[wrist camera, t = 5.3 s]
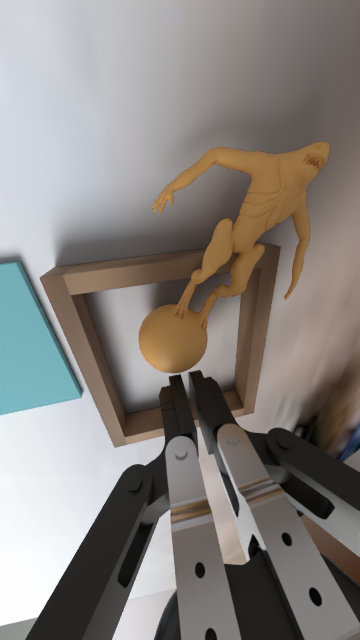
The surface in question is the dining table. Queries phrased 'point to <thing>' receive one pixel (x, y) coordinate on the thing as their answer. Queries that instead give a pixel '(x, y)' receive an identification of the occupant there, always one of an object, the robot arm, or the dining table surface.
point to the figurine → (232, 244)
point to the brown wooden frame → (78, 279)
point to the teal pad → (29, 349)
